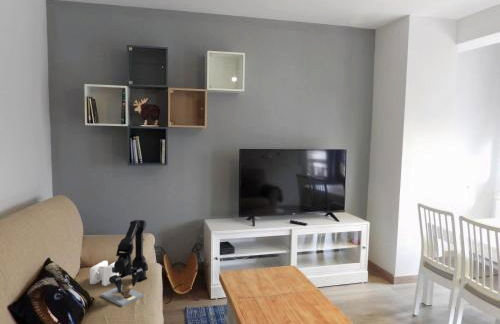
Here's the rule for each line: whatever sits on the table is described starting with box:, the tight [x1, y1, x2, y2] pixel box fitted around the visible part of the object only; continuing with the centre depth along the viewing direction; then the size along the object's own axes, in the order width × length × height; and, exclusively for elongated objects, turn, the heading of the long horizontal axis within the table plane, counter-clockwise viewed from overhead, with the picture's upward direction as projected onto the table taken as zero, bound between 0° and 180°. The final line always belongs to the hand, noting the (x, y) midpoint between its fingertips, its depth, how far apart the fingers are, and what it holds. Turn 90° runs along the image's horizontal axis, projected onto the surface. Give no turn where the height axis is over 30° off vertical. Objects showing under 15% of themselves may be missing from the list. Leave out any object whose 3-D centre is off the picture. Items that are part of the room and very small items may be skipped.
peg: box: [122, 283, 133, 299], centre depth 199 cm, size 5×5×8 cm
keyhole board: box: [100, 284, 144, 307], centre depth 202 cm, size 20×14×2 cm
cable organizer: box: [89, 260, 120, 287], centre depth 219 cm, size 15×11×12 cm
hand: (126, 289), depth 199 cm, fingers open, 9 cm apart
